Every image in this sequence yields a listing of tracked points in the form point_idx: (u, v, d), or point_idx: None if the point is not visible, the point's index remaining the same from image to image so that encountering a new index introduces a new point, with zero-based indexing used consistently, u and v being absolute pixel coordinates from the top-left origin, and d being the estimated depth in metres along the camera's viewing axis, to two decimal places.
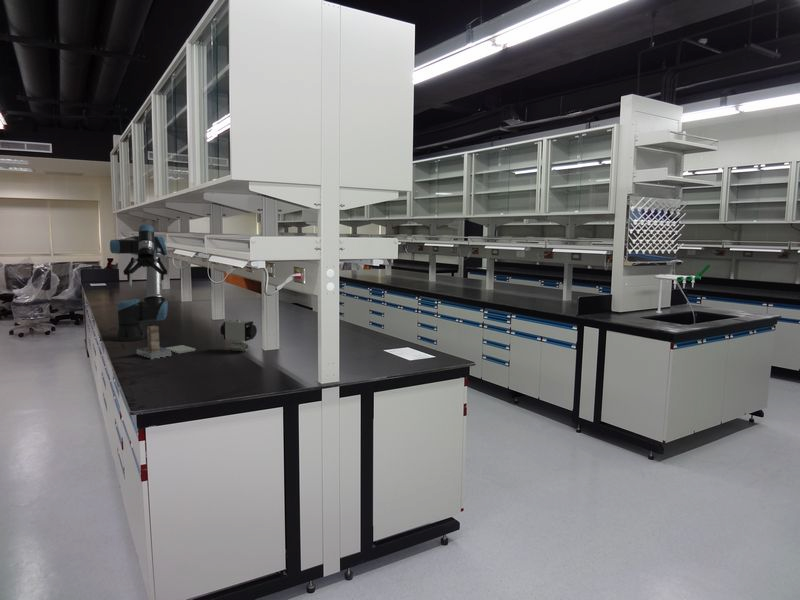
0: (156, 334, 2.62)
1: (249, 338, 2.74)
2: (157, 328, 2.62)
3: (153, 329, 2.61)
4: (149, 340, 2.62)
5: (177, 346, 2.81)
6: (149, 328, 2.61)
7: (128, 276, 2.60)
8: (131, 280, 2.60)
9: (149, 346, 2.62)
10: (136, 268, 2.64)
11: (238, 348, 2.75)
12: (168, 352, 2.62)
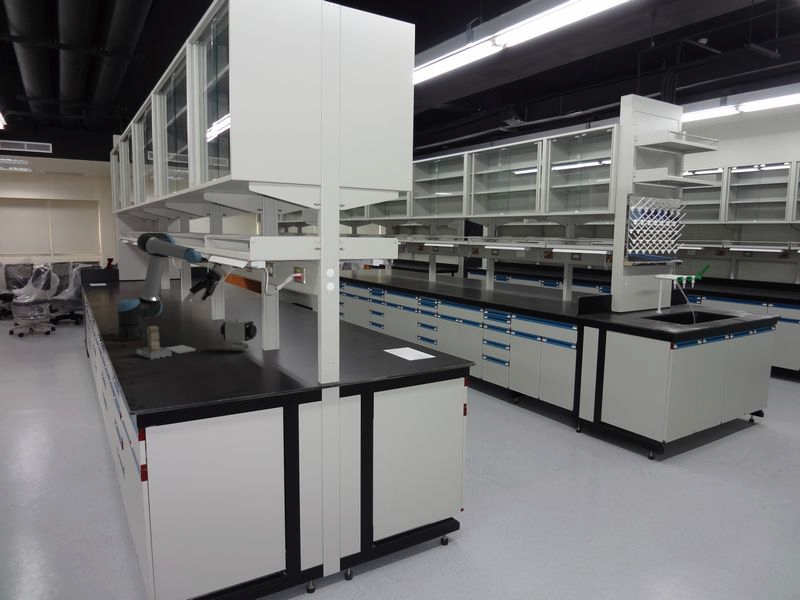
0: (156, 334, 2.62)
1: (249, 338, 2.74)
2: (157, 328, 2.62)
3: (153, 329, 2.61)
4: (149, 340, 2.62)
5: (177, 346, 2.81)
6: (149, 328, 2.61)
7: None
8: None
9: (149, 346, 2.62)
10: None
11: (238, 348, 2.75)
12: (168, 352, 2.62)
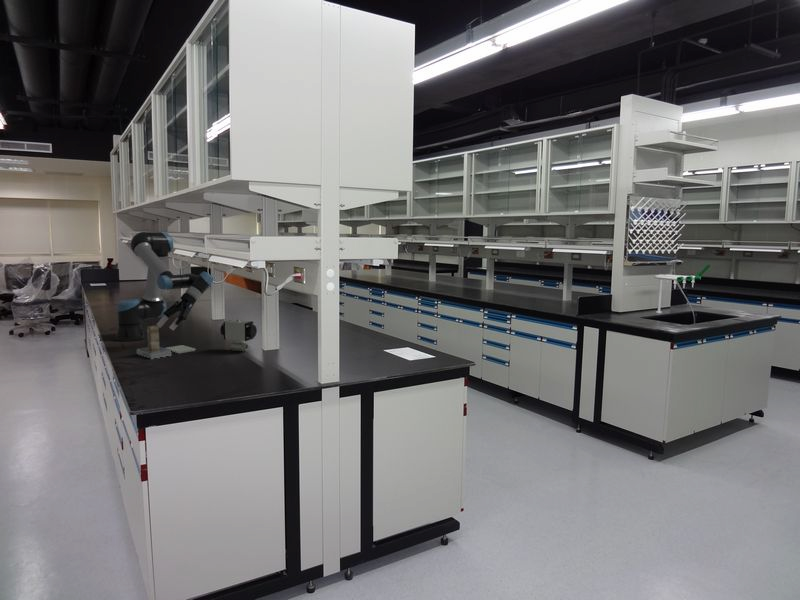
0: (156, 334, 2.62)
1: (249, 338, 2.74)
2: (157, 328, 2.62)
3: (153, 329, 2.61)
4: (149, 340, 2.62)
5: (177, 346, 2.81)
6: (149, 328, 2.61)
7: None
8: None
9: (149, 346, 2.62)
10: None
11: (238, 348, 2.75)
12: (168, 352, 2.62)
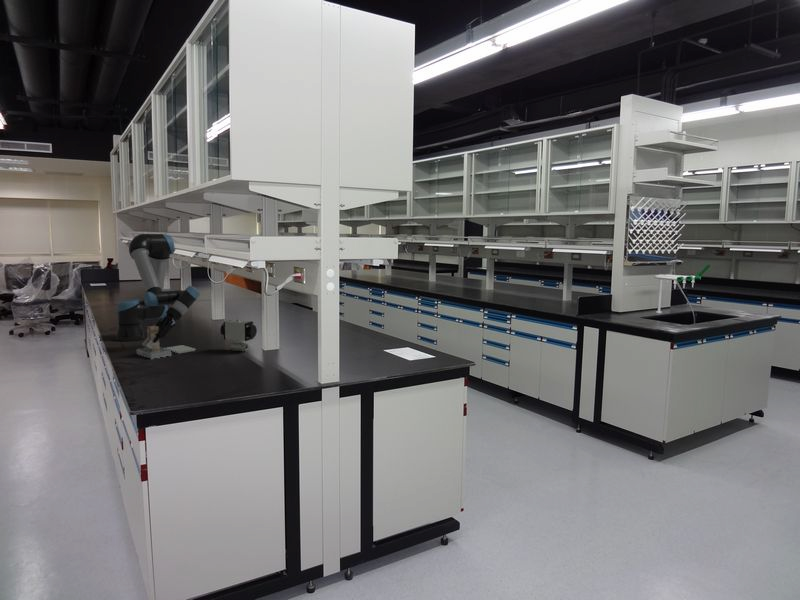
0: None
1: (249, 338, 2.74)
2: (157, 328, 2.62)
3: (153, 329, 2.61)
4: (149, 340, 2.62)
5: (177, 346, 2.81)
6: (149, 328, 2.61)
7: None
8: None
9: None
10: None
11: (238, 348, 2.75)
12: (168, 352, 2.62)
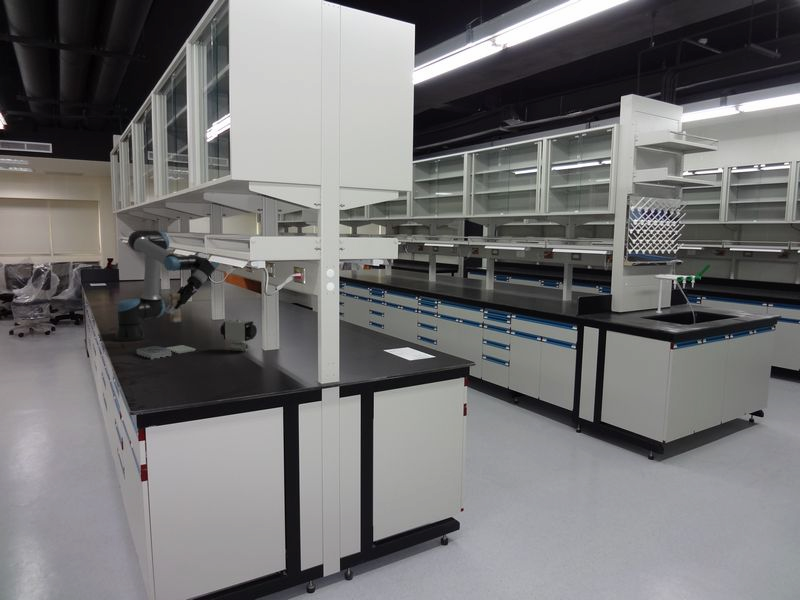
0: None
1: (249, 338, 2.74)
2: (179, 295, 2.72)
3: (175, 296, 2.70)
4: (171, 307, 2.71)
5: (177, 346, 2.81)
6: (171, 295, 2.70)
7: None
8: None
9: None
10: None
11: (238, 348, 2.75)
12: (168, 352, 2.62)
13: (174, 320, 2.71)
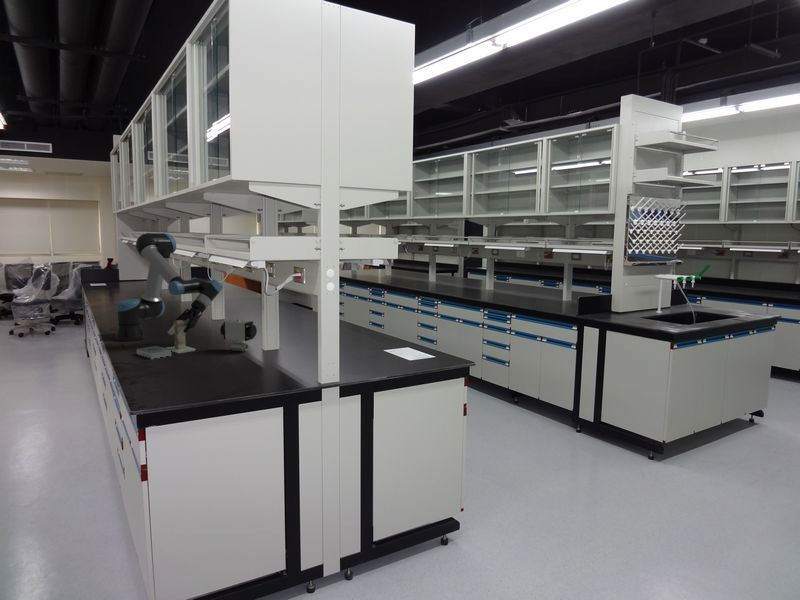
0: (182, 328, 2.75)
1: (249, 338, 2.74)
2: (183, 322, 2.75)
3: (179, 323, 2.74)
4: (176, 334, 2.75)
5: None
6: (176, 322, 2.73)
7: None
8: None
9: (176, 339, 2.75)
10: None
11: (238, 348, 2.75)
12: (168, 352, 2.62)
13: (179, 347, 2.75)
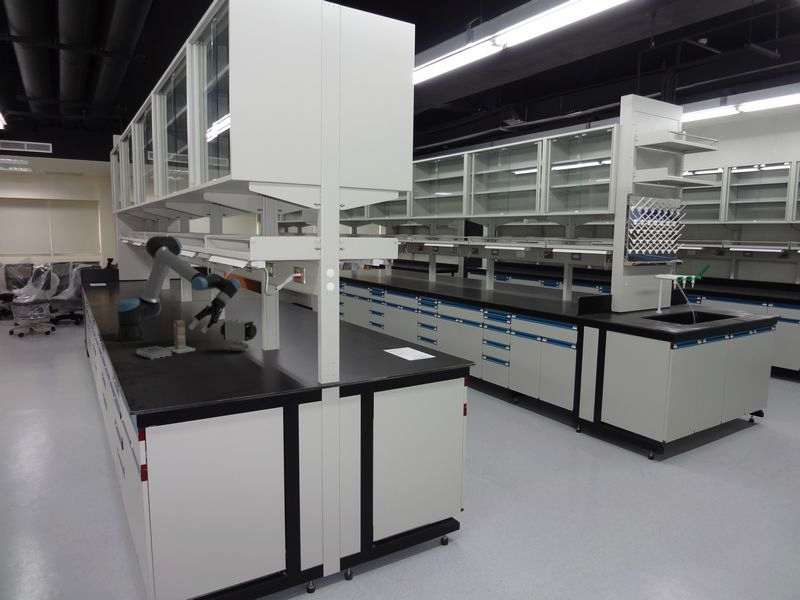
0: (182, 328, 2.75)
1: (249, 338, 2.74)
2: (183, 322, 2.75)
3: (179, 323, 2.74)
4: (176, 334, 2.75)
5: None
6: (176, 322, 2.73)
7: None
8: None
9: (176, 339, 2.75)
10: None
11: (238, 348, 2.75)
12: (168, 352, 2.62)
13: (179, 347, 2.75)
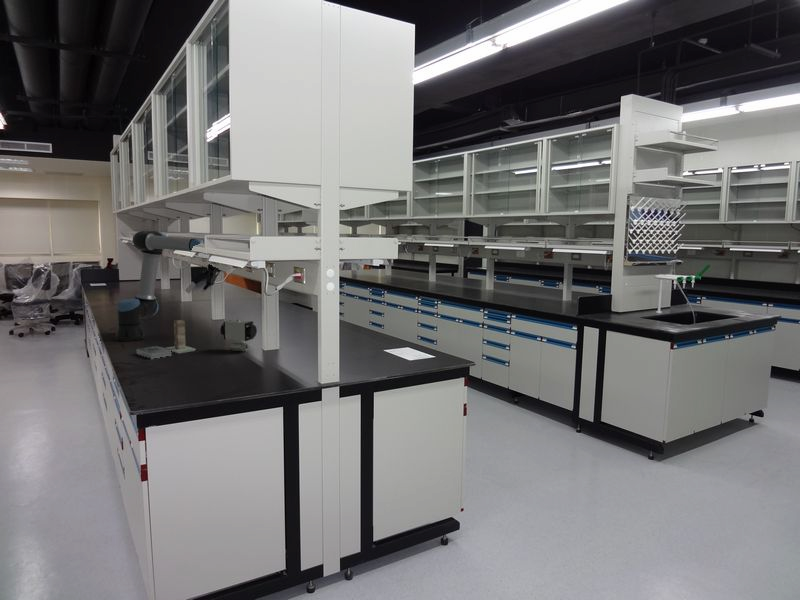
0: (182, 328, 2.75)
1: (249, 338, 2.74)
2: (183, 322, 2.75)
3: (179, 323, 2.74)
4: (176, 334, 2.75)
5: None
6: (176, 322, 2.73)
7: None
8: None
9: (176, 339, 2.75)
10: None
11: (238, 348, 2.75)
12: (168, 352, 2.62)
13: (179, 347, 2.75)
